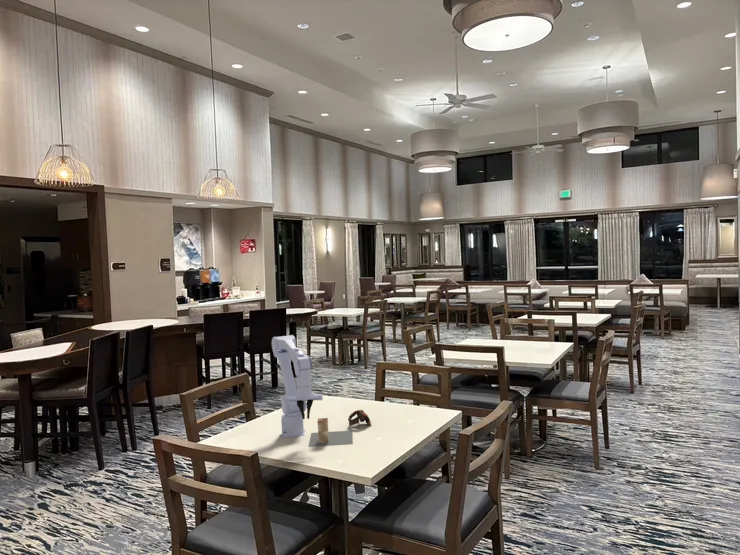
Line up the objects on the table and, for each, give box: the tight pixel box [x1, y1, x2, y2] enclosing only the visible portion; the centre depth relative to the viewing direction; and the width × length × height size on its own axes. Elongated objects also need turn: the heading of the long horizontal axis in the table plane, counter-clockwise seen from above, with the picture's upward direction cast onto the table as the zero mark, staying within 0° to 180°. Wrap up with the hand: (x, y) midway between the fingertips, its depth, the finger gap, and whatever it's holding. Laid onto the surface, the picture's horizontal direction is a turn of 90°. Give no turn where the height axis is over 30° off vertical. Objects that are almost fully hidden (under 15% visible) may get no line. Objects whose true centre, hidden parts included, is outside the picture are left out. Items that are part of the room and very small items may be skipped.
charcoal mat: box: [307, 430, 354, 448], centre depth 226 cm, size 18×18×1 cm
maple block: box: [316, 417, 329, 443], centre depth 223 cm, size 4×4×9 cm
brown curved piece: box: [347, 409, 372, 427], centre depth 243 cm, size 12×10×8 cm
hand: (306, 418), depth 222 cm, fingers closed
